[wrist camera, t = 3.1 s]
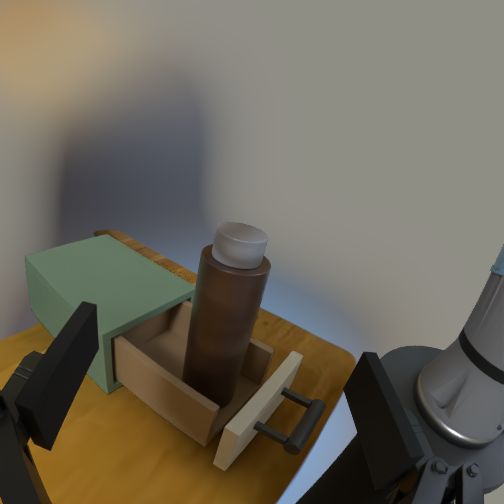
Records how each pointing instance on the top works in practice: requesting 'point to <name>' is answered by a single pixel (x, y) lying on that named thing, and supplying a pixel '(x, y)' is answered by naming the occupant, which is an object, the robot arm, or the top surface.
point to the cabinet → (101, 292)
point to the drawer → (196, 405)
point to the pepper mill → (225, 310)
